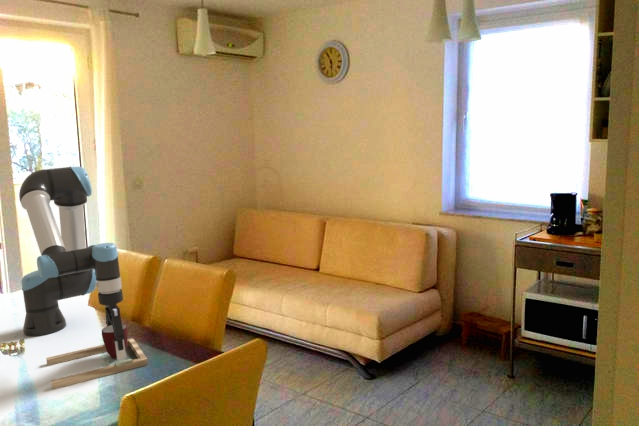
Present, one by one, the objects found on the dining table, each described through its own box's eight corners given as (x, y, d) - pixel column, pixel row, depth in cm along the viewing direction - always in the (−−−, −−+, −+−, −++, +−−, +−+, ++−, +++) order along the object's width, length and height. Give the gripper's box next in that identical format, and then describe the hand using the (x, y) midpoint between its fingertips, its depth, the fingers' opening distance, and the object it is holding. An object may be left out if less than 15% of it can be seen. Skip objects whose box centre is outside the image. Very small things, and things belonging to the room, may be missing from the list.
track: (47, 363, 187) (45, 356, 187) (133, 343, 201) (132, 336, 200) (52, 389, 168) (51, 381, 167) (147, 364, 181) (146, 356, 181)
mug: (132, 360, 185) (128, 331, 184) (106, 366, 182) (102, 336, 180) (129, 349, 195) (125, 322, 193) (104, 355, 191) (100, 327, 190)
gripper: (92, 284, 193) (100, 343, 196) (103, 302, 171) (112, 367, 175) (115, 280, 197) (122, 338, 200) (129, 297, 175) (137, 361, 178)
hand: (117, 352), depth 187 cm, fingers open, 13 cm apart
